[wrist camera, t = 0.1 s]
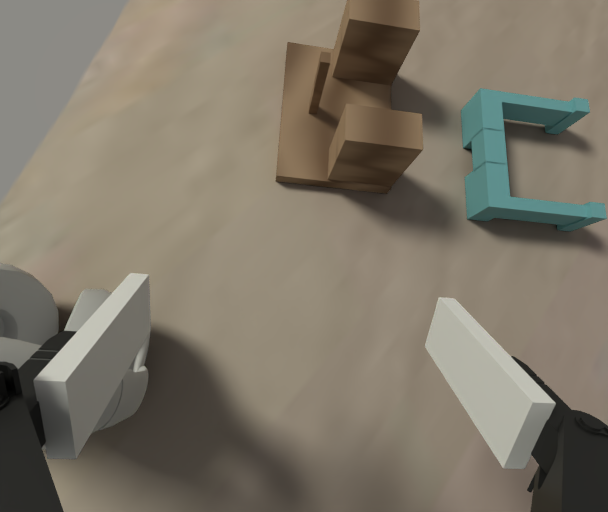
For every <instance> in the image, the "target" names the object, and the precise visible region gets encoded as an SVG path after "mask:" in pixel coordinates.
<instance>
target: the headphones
mask: <svg viewBox="0 0 608 512" xmlns="http://www.w3.org/2000/svg"><path fill="white" fill-rule="evenodd" d="M111 294H112V293H111V292H109V291H107V290H105V289H85V290H84V291H83V292H82V293H81V294H80V296H79V298H78V300H77V302H76V304H75V307H74V309H73V311H72V313H71V315H70V318H69V320H68V322H67V324H66V327H65V329H64V331H78V330H79V329H80V328H81V327H82V326H83V325H84V324H85V323H86V321H87V320H88V319H89V318H90V317H91V316H92V315H93V314H94V313H95V311H96V310H97V309H98V308H99V307H100V306H101V305H102V304H103V303H104V302H105V300H106V299H107V298H108V297H109V296H110V295H111ZM58 331H59V318H58V309H57V306H56V304H55V301H54V299H53V297H52V294H51V293H50V292H49V291H48V290H47V289H46V288H45V287H44V286H43V285H42V284H41V283H40V282H39V281H38V280H37V279H36V278H35V277H34V276H33V275H31V274H29V273H27V272H25V271H23V270H21V269H19V268H17V267H15V266H13V265H9V264H2V263H0V362H3V361H5V362H9V363H13V364H14V365H15V366H16V367H17V368H18V369H19V368H20V367H21V366H22V365H23V364H24V363H25V362H26V361H27V360H28V359H30V357H31V356H32V355H33V354H34V353H35V352H36V351H38V349H39V348H40V347H41V346H42V345H43V344H44V343H45V342H46V341H47V340H48V339H49V338H51V337H53V336H55V335H57V334H58ZM149 339H150V332H149V334H148V335H147V337H146V339H145V341H144V342H143V344H142V346H141V347H140V349H139V351H138V353H137V354H136V356H135V358H134V360H133V361H132V363H131V365H130V367H129V368H128V370H127V372H126V374H125V375H124V377H123V379H122V381H121V382H120V384H119V386H118V387H117V389H116V391H115V393H114V394H113V396H112V398H111V400H110V401H109V403H108V405H107V407H106V408H105V410H104V412H103V414H102V415H101V417H100V419H99V421H98V422H97V424H96V426H95V427H94V429H93V431H92V433H94V432H96V431H97V430H102V429H105V428H108V427H111V426H114V425H116V424H117V423H118V422H120V421H123V420H125V419H127V418H129V417H130V416H132V415H133V414H134V413H136V411H137V410H138V408H139V406H140V405H141V403H142V400H143V398H144V395H145V392H146V389H147V385H148V376H149V373H148V369H147V368H146V367H145V366H144V364H145V361H146V357H147V353H148V348H149ZM92 433H91V434H92ZM42 450H46V448H45V444H44V445H43V447H42Z"/></svg>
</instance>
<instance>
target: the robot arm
mask: <svg viewBox="0 0 608 512" xmlns="http://www.w3.org/2000/svg"><path fill="white" fill-rule="evenodd" d="M150 330H151V319H150V290H149V275H148V274H135V273H130V274H129V275H128V276H127V277H126V278H125V280H124V281H123V282H122V283H121V284H120V285H119V286H118V287H117V288H116V289H115V291H114V292H113V293H112V294H111V295H110V296H109V297H108V298H107V299H106V300H105V302H104V303H103V304H102V305H101V306H100V307H99V308H98V309H97V310H96V311H95V313H94V314H93V315H92V316H91V317H90V318H89V319H88V320H87V321H86V323H85V324H84V325H83V326H82V327H81V328H80V329H79V330H78V331H62V332H60V333H58V334H57V335H55V336H53V337H51V338H49V339H48V340H47V341H46V342H45V343H44V344H43V345H42V346H41V347H40V348H39V349H38V351H36V352H35V353H34V354H33V355H32V356H31V357H30V359H28V360H27V361H26V362H25V363H24V364H23V365H22V366H21V367H20V368H19V369H18V368H17V367H16V366H15V365H14V364H13V363H9V362H5V361H3V362H0V512H64V511H63V509H62V506H61V503H60V500H59V497H58V494H57V491H56V488H55V485H54V483H53V480H52V477H51V474H50V471H49V468H48V465H47V462H46V460H45V457H44V454H43V451H42V447H43V445H44V444H45V448H46V453H47V459H77V457H78V455H79V454H80V452H81V450H82V448H83V447H84V445H85V443H86V441H87V440H88V438H89V436H90V434H91V433H92V431H93V429H94V427H95V426H96V424H97V422H98V421H99V419H100V417H101V415H102V414H103V412H104V410H105V408H106V407H107V405H108V403H109V401H110V400H111V398H112V396H113V394H114V393H115V391H116V389H117V387H118V386H119V384H120V382H121V381H122V379H123V377H124V375H125V374H126V372H127V370H128V368H129V367H130V365H131V363H132V361H133V360H134V358H135V356H136V354H137V353H138V351H139V349H140V347H141V346H142V344H143V342H144V341H145V339H146V337H147V335H148V334H149V332H150ZM425 347H426V349H427V351H428V352H429V354H430V355H431V357H432V358H433V360H434V361H435V363H436V365H437V366H438V368H439V369H440V371H441V372H442V374H443V375H444V377H445V379H446V380H447V382H448V383H449V385H450V386H451V388H452V389H453V391H454V393H455V394H456V396H457V397H458V399H459V400H460V402H461V403H462V405H463V407H464V408H465V410H466V411H467V413H468V414H469V416H470V417H471V419H472V421H473V422H474V424H475V425H476V427H477V428H478V430H479V431H480V433H481V435H482V436H483V438H484V439H485V441H486V442H487V444H488V445H489V447H490V449H491V450H492V452H493V453H494V455H495V456H496V458H497V459H498V461H499V463H500V464H501V466H502V467H503V468H511V469H525V467H526V465H527V463H528V461H529V459H530V457H531V455H532V456H533V457H534V458H535V460H536V461H537V462H538V464H539V467H538V469H537V471H536V473H535V475H534V477H533V479H532V481H531V483H530V485H529V487H528V489H527V491H529V492H532V490H533V498H532V506H531V512H608V426H607V425H606V424H604V423H603V422H602V421H600V420H599V419H597V418H595V417H593V416H592V415H590V414H587V413H584V412H581V411H577V410H571V409H570V408H569V407H568V406H567V405H566V404H565V403H564V402H563V401H562V400H561V399H560V398H559V397H558V396H557V395H556V394H555V393H554V392H553V391H552V390H551V389H550V388H549V387H548V386H547V385H545V384H544V382H543V381H542V380H541V379H540V378H539V377H537V376H536V374H535V373H534V372H533V371H532V370H531V369H530V368H529V367H528V366H527V365H526V364H524V363H523V362H521V361H520V360H518V359H517V358H515V357H513V356H510V355H509V354H508V353H507V352H506V351H505V350H504V349H503V348H502V347H501V346H500V345H499V344H498V343H497V342H496V341H495V340H494V339H493V338H492V337H491V336H490V335H489V334H488V333H487V332H486V331H485V330H484V329H483V328H482V326H481V325H480V324H479V323H478V322H477V321H476V320H475V319H474V318H473V317H472V316H471V315H470V314H469V313H468V312H467V311H466V310H465V309H464V308H463V307H462V306H461V305H460V304H459V303H458V302H457V301H456V300H455V299H454V298H442V297H439V299H438V302H437V306H436V309H435V313H434V316H433V320H432V323H431V327H430V330H429V334H428V337H427V340H426V344H425ZM533 488H534V489H533Z"/></svg>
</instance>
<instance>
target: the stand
mask: <svg viewBox="0 0 608 512" xmlns="http://www.w3.org/2000/svg"><path fill="white" fill-rule="evenodd" d="M419 31H420V17H419V1H417V0H347V3H346V6H345V10H344V14H343V17H342V21H341V25H340V29H339V32H338V36H337V40H336V44H335V47H334V49H328V48H322V47H316V46H309V45H303V44H296V43H290V42H288V44H287V54H286V66H285V78H284V90H283V102H282V114H281V126H280V137H279V149H278V161H277V173H276V181H278V182H287V183H296V184H305V185H314V186H323V187H332V188H341V189H350V190H359V191H368V192H377V193H386V194H387V193H388V192H389V190H390V189H391V186H392V185H393V184H394V183H395V182H396V180H397V179H398V178H399V177H400V176H401V175H402V173H403V172H404V171H405V170H406V169H407V168H408V167H409V165H410V164H411V163H412V162H413V161H414V160H415V158H416V157H417V156H418V155H419V154H420V153H421V152H422V150H423V131H422V114H419V113H412V112H404V111H397V110H391V84H392V83H393V81H394V79H395V77H396V75H397V73H398V71H399V69H400V67H401V65H402V64H403V62H404V60H405V58H406V56H407V54H408V52H409V50H410V48H411V46H412V45H413V43H414V41H415V39H416V37H417V35H418V33H419Z"/></svg>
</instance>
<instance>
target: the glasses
mask: <svg viewBox="0 0 608 512" xmlns="http://www.w3.org/2000/svg"><path fill="white" fill-rule="evenodd" d="M588 113H590V109H589V103H588V99H581V98H573V99H572V100H571V101H570V102H567V101H561V100H554V99H547V98H541V97H534V96H528V95H521V94H514V93H508V92H501V91H494V90H488V89H481V88H480V89H479V90H478V92H477V93H476V94H475V95H474V96H473V97H472V98H471V100H470V101H469V102H468V103H467V104H466V105H465V106H464V108H463V109H462V110H461V119H462V137H463V148H467V149H472V158H473V171H472V172H471V173H470V174H468V175H467V176H466V177H465V189H466V207H467V219H470V220H479V221H489V220H491V219H493V218H502V219H511V220H521V221H530V222H539V223H549V224H557V230H561V231H570V232H571V231H573V230H576V229H579V228H582V227H585V226H587V225H590V224H593V223H596V222H599V221H601V220H604V219H607V217H606V211H605V204H604V203H595V202H589V203H586V204H584V205H578V204H569V203H560V202H552V201H543V200H534V199H526V198H517V197H510V188H509V177H508V166H507V155H506V144H505V133H504V121H503V119H508V120H515V121H522V122H529V123H536V124H544V125H545V132H546V133H550V134H559V133H561V132H562V131H564V130H565V129H567V128H568V127H569V126H571V125H572V124H574V123H575V122H577V121H578V120H580V119H581V118H582V117H584V116H585V115H587V114H588Z"/></svg>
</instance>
